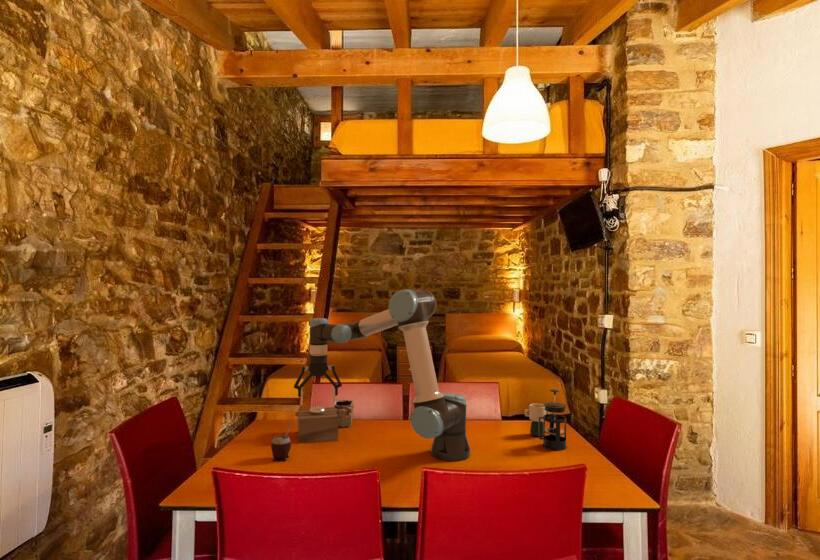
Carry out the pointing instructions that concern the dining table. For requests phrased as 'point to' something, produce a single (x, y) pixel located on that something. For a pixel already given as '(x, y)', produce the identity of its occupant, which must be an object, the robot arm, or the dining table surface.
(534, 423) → the character mug
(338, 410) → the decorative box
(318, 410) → the steel pin
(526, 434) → the dining table surface
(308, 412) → the hitch block
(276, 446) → the mate gourd
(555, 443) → the french press
